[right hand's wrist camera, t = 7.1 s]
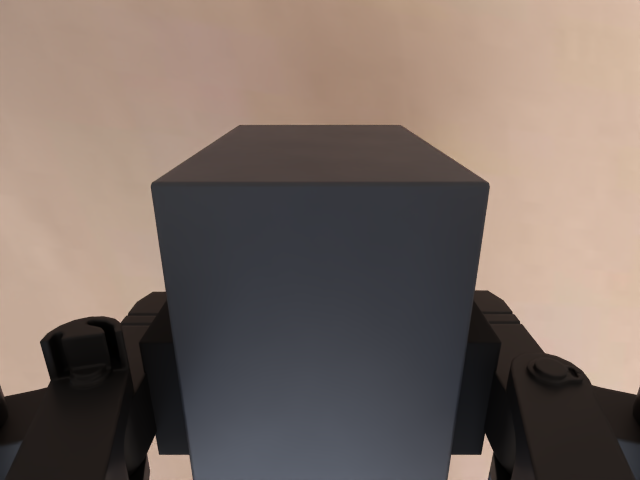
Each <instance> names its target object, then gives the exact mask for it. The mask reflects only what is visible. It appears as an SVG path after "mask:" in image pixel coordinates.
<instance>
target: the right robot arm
mask: <svg viewBox="0 0 640 480" xmlns="http://www.w3.org/2000/svg"><path fill="white" fill-rule="evenodd" d="M40 344H41V347H42V351H43V355H44V358H45V362H46V365H47V369H48V372H49V376H50V379H51V381H50V383H49V385H48V387H47V388H43V389H39V390H35V391H30V392H25V393H20V394H15V395H10V396H5V397H4V395H3V392H2V389H1V386H0V480H149V476H150V468H149V462H148V457H147V452H148V450H149V448H150V445H151V443H152V441H153V439H154V436H155V434H156V440H157V445H158V451H159V455H189V448H188V441H187V434H186V427H185V420H184V413H183V406H182V400H181V393H180V386H179V379H178V372H177V365H176V358H175V351H174V344H173V337H172V330H171V323H170V316H169V309H168V302H167V295H166V292H152V293H150V294H149V295H147V296H146V297H144V298H142V299H141V300H139V301H138V302H137V303H136V304H135V305H134V307H133V308H132V309H131V310H130V312H129V313H128V316H126V317H125V318H124V319H123V321H122V322H121V323H120V322H118V321H117V320H116V319H114V318H109V317H105V316H100V317H87V318H82V319H77V320H74V321H71V322H68V323H66V324H63V325H61V326H59V327H57V328H55V329H54V330H52V331H51V332H49V333H47V335H46V336H45V337H44V338H43V339H42V340H41V341H40ZM485 434H486V436H487V438H488V440H489V442H490V445H491V447H492V449H493V451H494V452H493V457H492V462H491V467H490V472H489V477H488V480H640V387H639V390H638V393H637V395H635V394H630V393H625V392H620V391H615V390H610V389H605V388H601V387H597V386H593V385H591V382H590V380H589V379H588V378H587V376H586V375H585V374H584V372H583V371H582V370H581V369H579V368H578V367H576V366H575V365H574V364H572V363H571V362H569V361H566V360H564V359H562V358H560V357H557V356H554V355H550V354H546V353H544V352H543V350H542V349H541V348H540V346H539V345H538V344H537V343H536V341H535V340H534V339H533V338H532V336H531V335H530V334H529V332H528V331H527V330H526V329H525V327H524V326H523V325H522V324H520V321H519V320H518V318H517V317H516V316H515V315H514V314H512V311H511V309H510V308H509V307H508V306H507V304H506V303H505V302H504V301H503V300H502V299H500V298H499V297H497V296H496V295H494V294H492V293H491V292H489V291H475V292H474V299H473V306H472V313H471V320H470V327H469V334H468V341H467V348H466V355H465V361H464V368H463V375H462V382H461V389H460V396H459V403H458V410H457V417H456V424H455V431H454V438H453V445H452V452H451V455H481V452H482V447H483V442H484V436H485Z"/></svg>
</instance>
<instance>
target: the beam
mask: <svg viewBox="0 0 640 480" xmlns="http://www.w3.org/2000/svg"><path fill="white" fill-rule="evenodd" d="M489 188H490V186H489V183H488V182H487V181H485V180H484V179H482V178H481V177H479V176H478V175H476V174H474V173H473V172H471V171H470V170H468V169H467V168H465V167H464V166H462V165H461V164H459V163H458V162H456V161H455V160H453V159H452V158H450V157H449V156H447V155H446V154H444V153H442V152H441V151H439V150H438V149H436V148H435V147H433V146H432V145H430V144H429V143H427V142H426V141H424V140H423V139H421V138H420V137H418V136H417V135H415V134H414V133H412V132H410V131H409V130H407V129H406V128H404V127H403V126H401V125H239V126H237V127H236V128H234V129H233V130H231V131H230V132H228V133H227V134H225V135H224V136H222V137H221V138H219V139H218V140H216V141H215V142H213V143H212V144H210V145H209V146H207V147H205V148H204V149H202V150H201V151H199V152H198V153H196V154H195V155H193V156H192V157H190V158H189V159H187V160H186V161H184V162H183V163H181V164H180V165H178V166H177V167H175V168H174V169H172V170H171V171H169V172H168V173H166V174H165V175H163V176H162V177H160V178H159V179H157V180H156V181H154V182H152V184H151V191H152V198H153V205H154V212H155V219H156V226H157V233H158V240H159V247H160V254H161V261H162V268H163V275H164V282H165V288H166V295H167V302H168V309H169V316H170V323H171V330H172V337H173V344H174V351H175V358H176V365H177V372H178V379H179V386H180V393H181V400H182V406H183V413H184V420H185V427H186V434H187V441H188V448H189V455H190V462H191V469H192V476H193V480H447V479H448V472H449V465H450V458H451V452H452V445H453V438H454V431H455V424H456V417H457V410H458V403H459V396H460V389H461V382H462V375H463V368H464V361H465V355H466V348H467V341H468V334H469V327H470V320H471V313H472V306H473V299H474V292H475V285H476V278H477V271H478V264H479V258H480V251H481V244H482V237H483V230H484V223H485V216H486V209H487V202H488V195H489Z"/></svg>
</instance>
